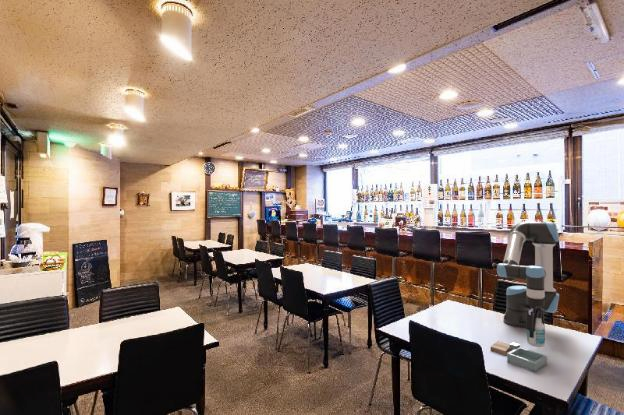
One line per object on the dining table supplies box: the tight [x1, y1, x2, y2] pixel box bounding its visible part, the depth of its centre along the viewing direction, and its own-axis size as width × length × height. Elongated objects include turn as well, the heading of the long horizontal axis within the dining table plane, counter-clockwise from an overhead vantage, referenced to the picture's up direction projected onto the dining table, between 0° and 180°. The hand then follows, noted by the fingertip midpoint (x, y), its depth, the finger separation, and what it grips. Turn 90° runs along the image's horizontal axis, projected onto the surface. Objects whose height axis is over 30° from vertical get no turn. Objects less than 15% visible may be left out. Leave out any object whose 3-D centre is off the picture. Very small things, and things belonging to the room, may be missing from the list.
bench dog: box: [509, 341, 521, 351], centre depth 158 cm, size 4×3×5 cm
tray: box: [506, 346, 548, 373], centre depth 149 cm, size 12×12×4 cm
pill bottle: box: [526, 318, 546, 348], centre depth 159 cm, size 8×7×14 cm
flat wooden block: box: [490, 340, 511, 356], centre depth 163 cm, size 10×7×2 cm
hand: (536, 341), depth 159 cm, fingers closed on pill bottle, 7 cm apart
